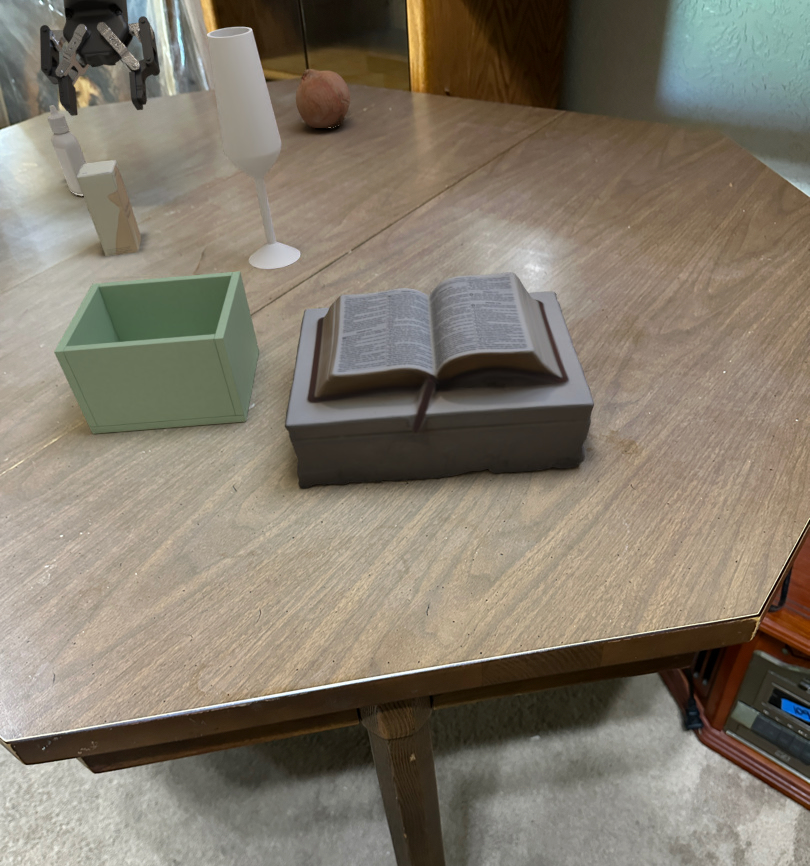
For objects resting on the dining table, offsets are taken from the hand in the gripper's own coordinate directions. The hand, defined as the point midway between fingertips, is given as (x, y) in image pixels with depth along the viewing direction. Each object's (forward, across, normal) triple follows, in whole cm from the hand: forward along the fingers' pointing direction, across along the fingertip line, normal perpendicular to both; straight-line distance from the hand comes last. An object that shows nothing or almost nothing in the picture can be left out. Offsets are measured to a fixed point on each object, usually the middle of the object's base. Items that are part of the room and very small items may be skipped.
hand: (104, 109), depth 91 cm
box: (+18, 0, +4) cm, 18 cm away
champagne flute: (+20, +20, +1) cm, 29 cm away
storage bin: (+41, +13, -20) cm, 47 cm away
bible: (+46, +38, -25) cm, 65 cm away
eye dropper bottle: (-1, -13, +22) cm, 26 cm away
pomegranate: (-16, +25, +38) cm, 48 cm away
